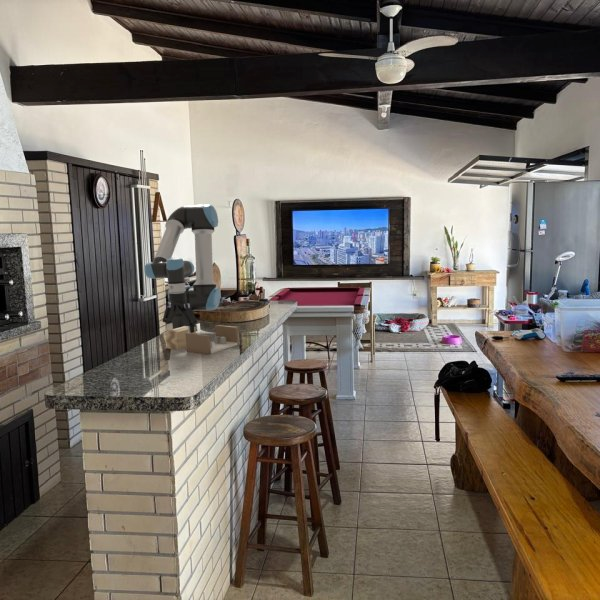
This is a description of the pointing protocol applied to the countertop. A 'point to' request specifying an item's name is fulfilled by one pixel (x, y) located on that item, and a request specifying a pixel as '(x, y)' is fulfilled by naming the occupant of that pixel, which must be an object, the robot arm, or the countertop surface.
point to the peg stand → (222, 340)
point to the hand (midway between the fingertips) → (181, 338)
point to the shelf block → (177, 337)
